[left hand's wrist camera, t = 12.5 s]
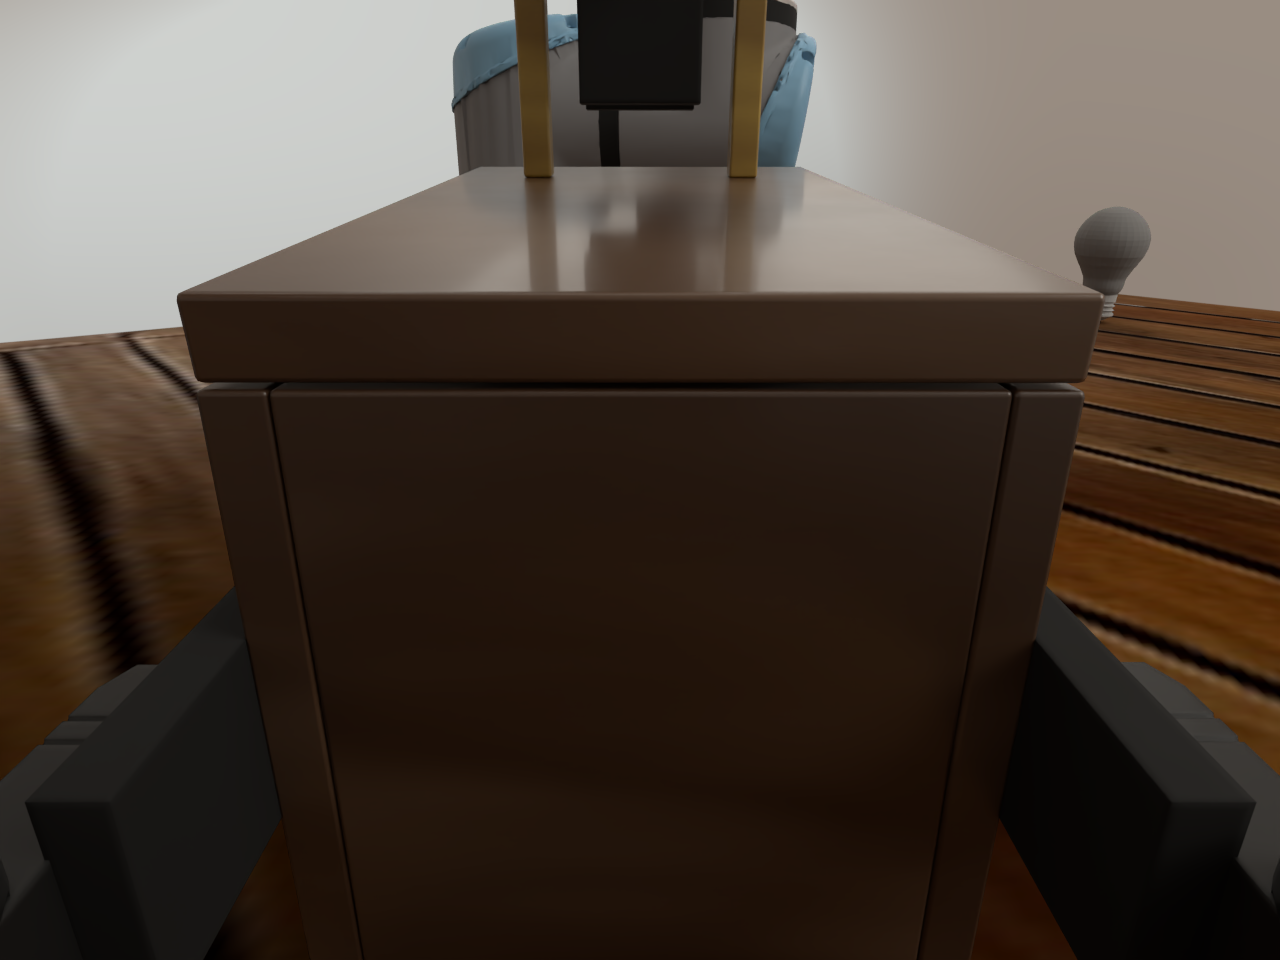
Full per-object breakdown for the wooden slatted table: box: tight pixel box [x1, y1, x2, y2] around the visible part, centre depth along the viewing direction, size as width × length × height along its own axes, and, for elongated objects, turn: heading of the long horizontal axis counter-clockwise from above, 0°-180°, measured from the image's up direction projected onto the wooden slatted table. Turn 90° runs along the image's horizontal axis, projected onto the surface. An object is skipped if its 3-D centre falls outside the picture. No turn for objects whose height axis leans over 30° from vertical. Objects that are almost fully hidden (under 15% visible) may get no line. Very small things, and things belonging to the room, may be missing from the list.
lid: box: [177, 0, 1105, 383], centre depth 15 cm, size 17×9×8 cm, turn 0°
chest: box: [197, 383, 1085, 960], centre depth 18 cm, size 17×9×11 cm, turn 0°
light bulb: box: [1074, 207, 1151, 320], centre depth 74 cm, size 6×6×10 cm
